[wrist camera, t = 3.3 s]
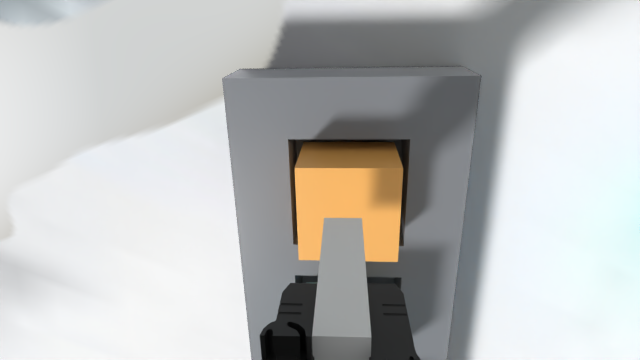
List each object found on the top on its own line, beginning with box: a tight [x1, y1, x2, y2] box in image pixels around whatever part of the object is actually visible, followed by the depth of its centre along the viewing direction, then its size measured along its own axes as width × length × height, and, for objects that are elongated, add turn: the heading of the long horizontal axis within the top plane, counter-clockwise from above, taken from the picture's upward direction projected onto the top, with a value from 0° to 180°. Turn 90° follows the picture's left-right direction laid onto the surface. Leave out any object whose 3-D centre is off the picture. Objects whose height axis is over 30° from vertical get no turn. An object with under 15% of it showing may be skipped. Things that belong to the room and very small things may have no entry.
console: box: [222, 66, 481, 360], centre depth 26 cm, size 12×28×4 cm, turn 1°
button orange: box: [295, 142, 403, 262], centre depth 21 cm, size 5×5×4 cm
